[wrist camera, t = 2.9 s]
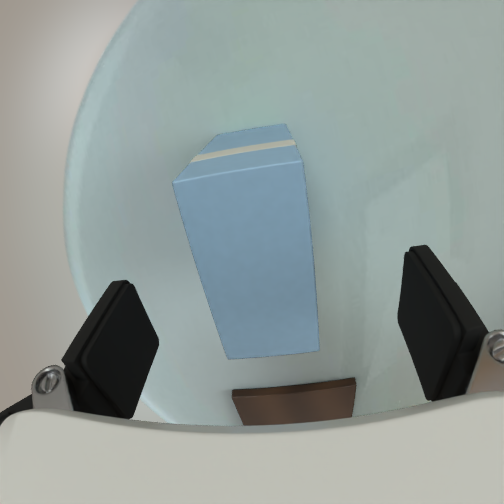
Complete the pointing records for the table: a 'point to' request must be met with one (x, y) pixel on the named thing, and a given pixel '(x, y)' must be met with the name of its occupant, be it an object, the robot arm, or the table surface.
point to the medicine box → (253, 241)
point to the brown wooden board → (296, 403)
